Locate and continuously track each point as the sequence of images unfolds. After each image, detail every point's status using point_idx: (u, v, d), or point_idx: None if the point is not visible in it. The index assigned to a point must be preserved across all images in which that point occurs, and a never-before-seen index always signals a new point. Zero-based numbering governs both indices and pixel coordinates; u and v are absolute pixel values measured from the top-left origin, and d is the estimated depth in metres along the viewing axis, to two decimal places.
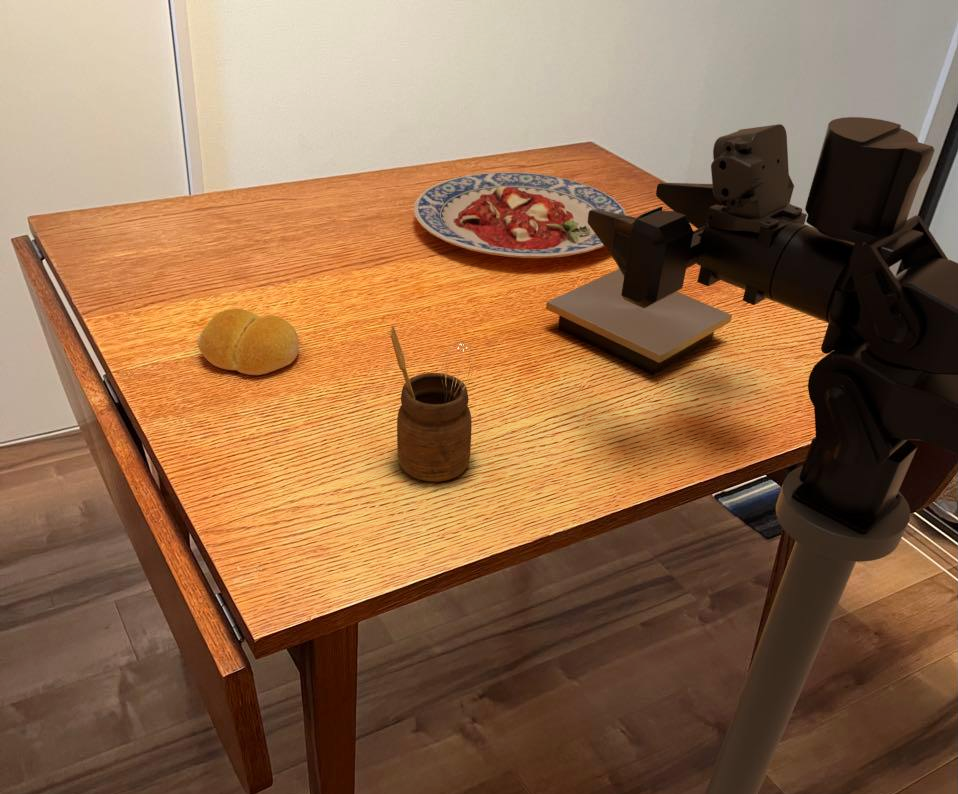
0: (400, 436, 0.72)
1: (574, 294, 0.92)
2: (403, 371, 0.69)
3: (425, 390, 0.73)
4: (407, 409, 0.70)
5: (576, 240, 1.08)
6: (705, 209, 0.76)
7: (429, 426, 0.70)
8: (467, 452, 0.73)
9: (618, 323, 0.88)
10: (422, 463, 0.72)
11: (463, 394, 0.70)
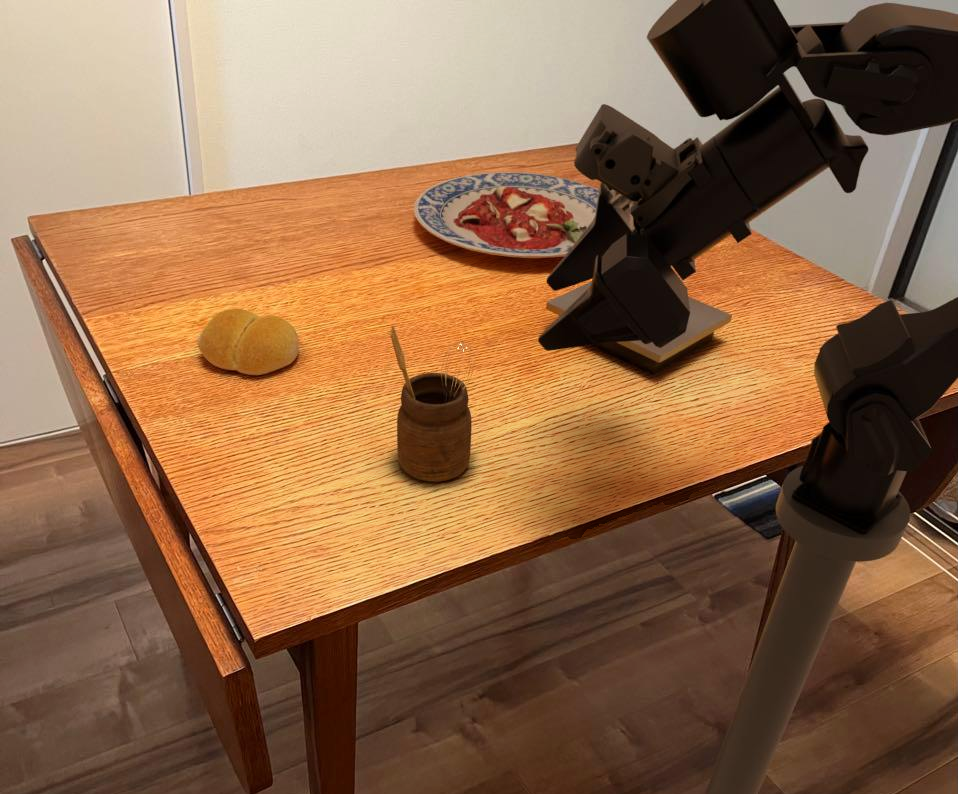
0: (400, 436, 0.72)
1: (574, 294, 0.92)
2: (403, 371, 0.69)
3: (425, 390, 0.73)
4: (407, 409, 0.70)
5: (576, 240, 1.08)
6: (604, 249, 0.68)
7: (429, 426, 0.70)
8: (467, 452, 0.73)
9: None
10: (422, 463, 0.72)
11: (463, 394, 0.70)
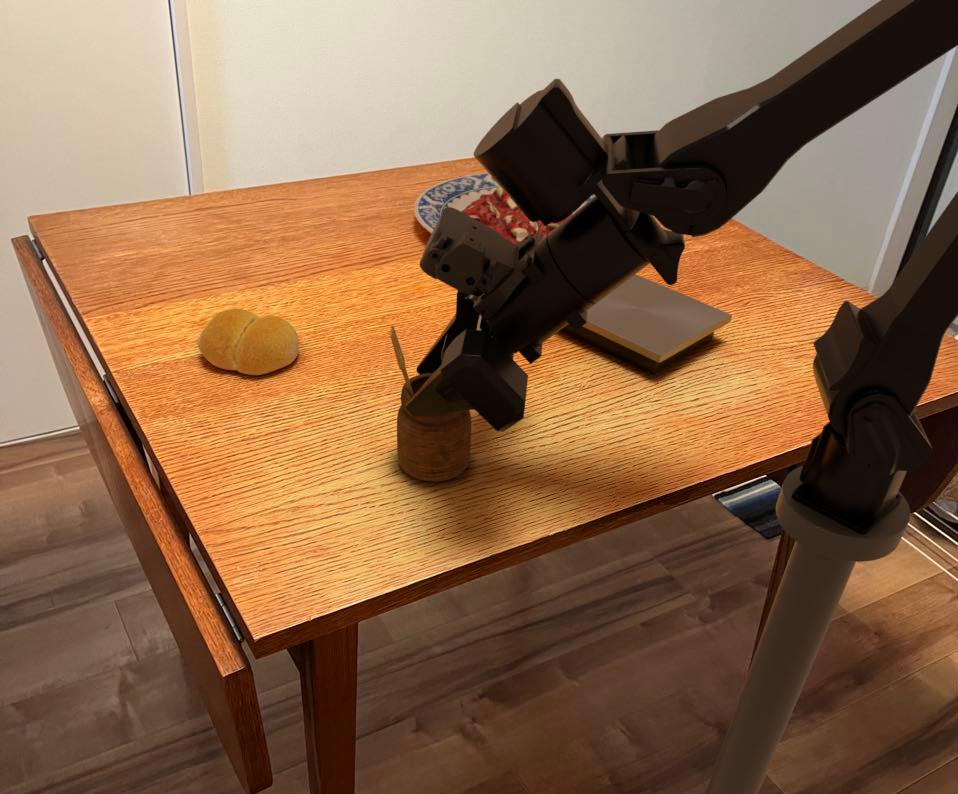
0: (400, 436, 0.72)
1: None
2: (403, 371, 0.69)
3: None
4: None
5: None
6: None
7: (428, 426, 0.70)
8: (467, 452, 0.73)
9: (618, 323, 0.88)
10: (421, 463, 0.72)
11: None
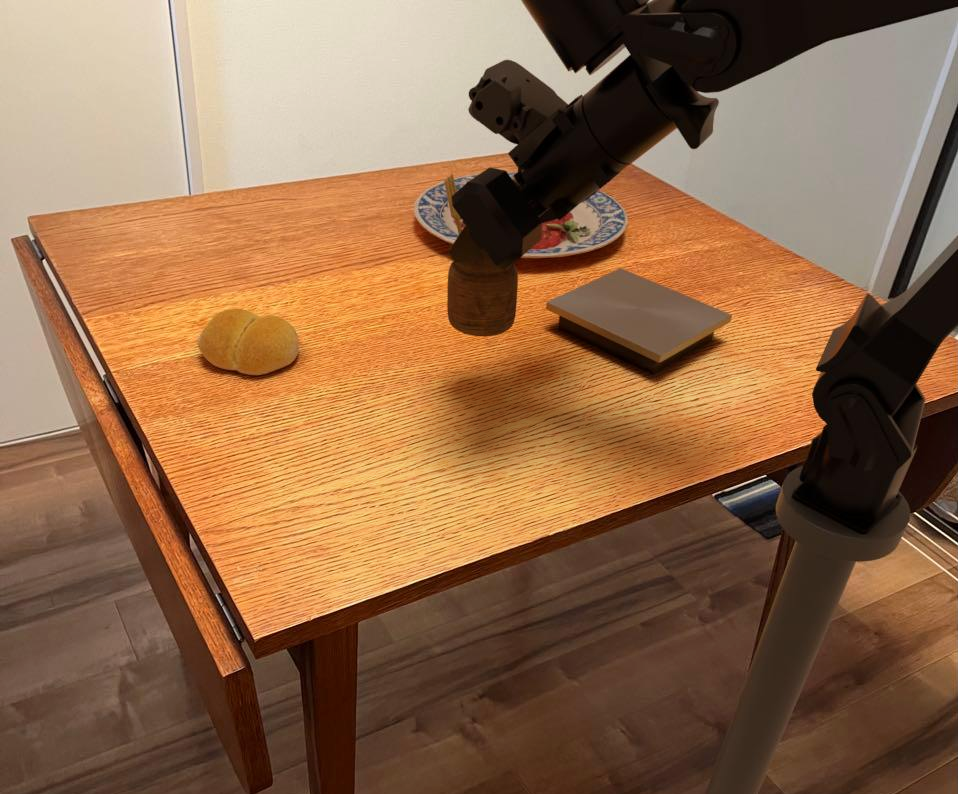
0: None
1: (574, 294, 0.92)
2: (456, 221, 0.74)
3: None
4: None
5: (576, 240, 1.08)
6: None
7: (468, 276, 0.74)
8: (507, 313, 0.77)
9: (618, 323, 0.88)
10: (460, 313, 0.76)
11: None
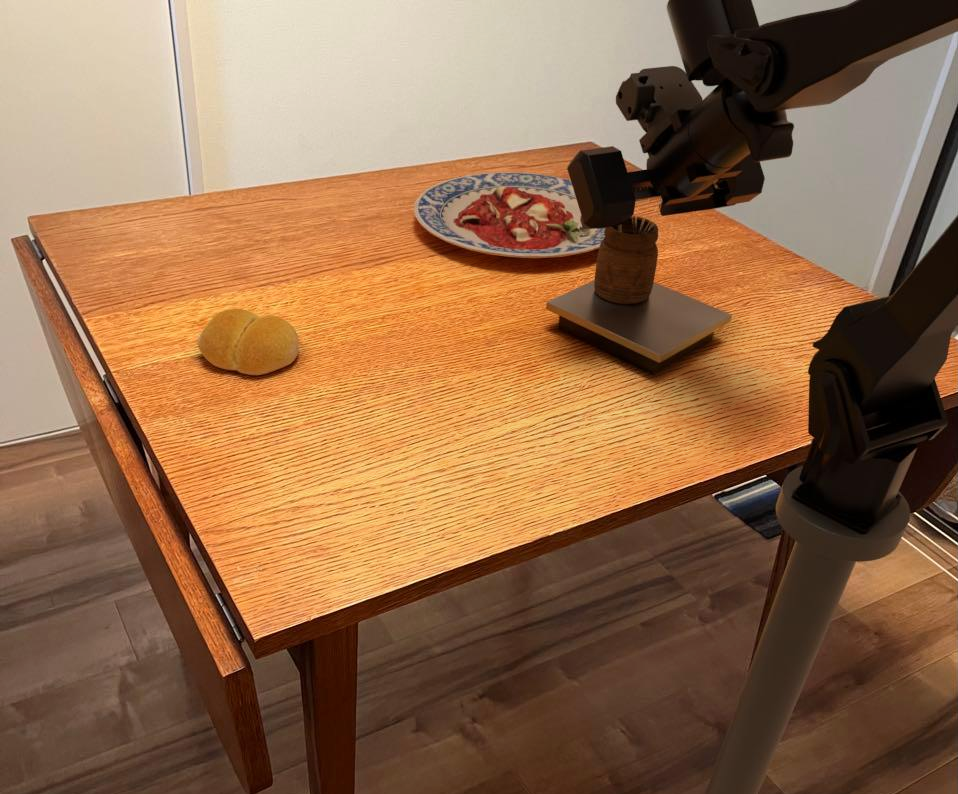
0: None
1: (574, 294, 0.92)
2: None
3: (640, 232, 0.91)
4: None
5: (576, 240, 1.08)
6: None
7: (607, 246, 0.89)
8: (633, 287, 0.90)
9: (618, 323, 0.88)
10: (597, 277, 0.91)
11: (642, 234, 0.87)
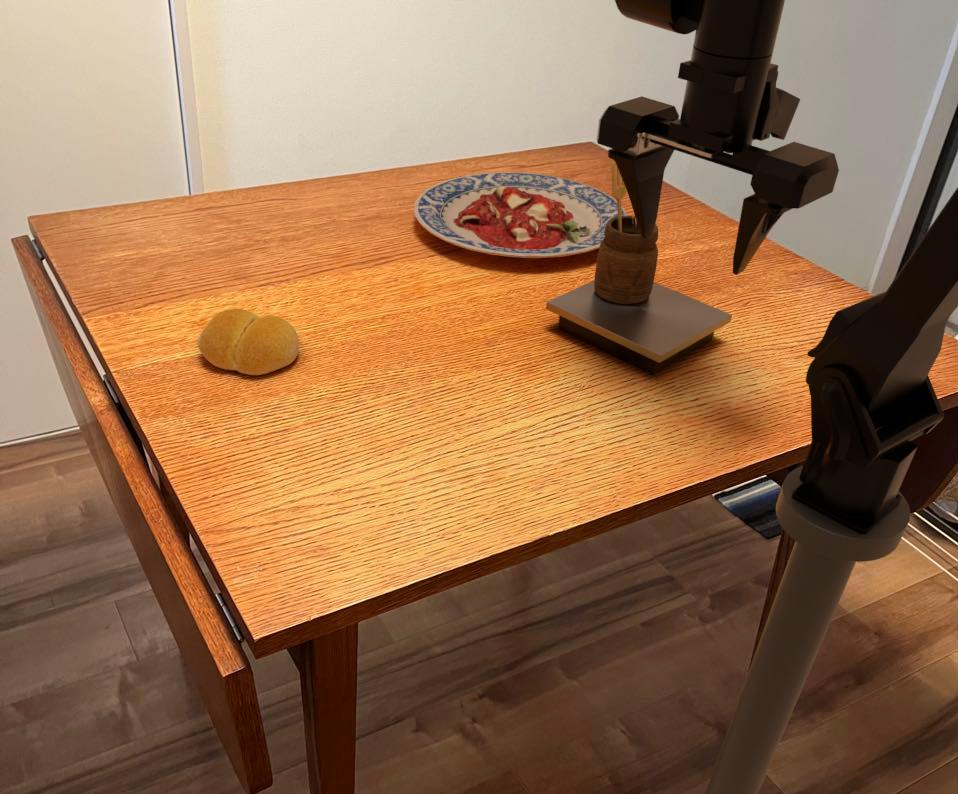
0: None
1: (574, 294, 0.92)
2: (617, 201, 0.89)
3: None
4: None
5: (576, 240, 1.08)
6: None
7: (607, 246, 0.89)
8: (633, 287, 0.90)
9: (618, 323, 0.88)
10: (597, 277, 0.91)
11: None
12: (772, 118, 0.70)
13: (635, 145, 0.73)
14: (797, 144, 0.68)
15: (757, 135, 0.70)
